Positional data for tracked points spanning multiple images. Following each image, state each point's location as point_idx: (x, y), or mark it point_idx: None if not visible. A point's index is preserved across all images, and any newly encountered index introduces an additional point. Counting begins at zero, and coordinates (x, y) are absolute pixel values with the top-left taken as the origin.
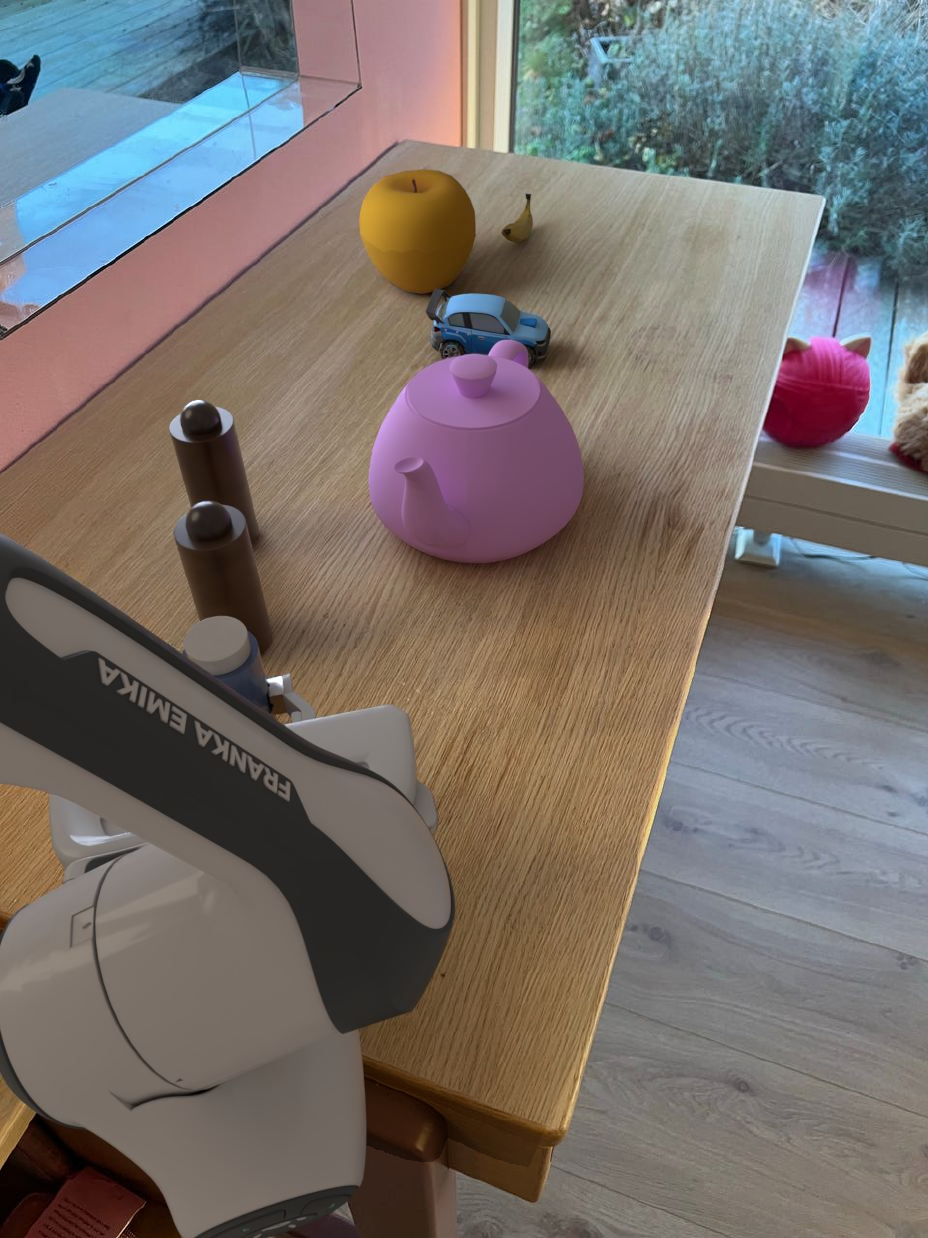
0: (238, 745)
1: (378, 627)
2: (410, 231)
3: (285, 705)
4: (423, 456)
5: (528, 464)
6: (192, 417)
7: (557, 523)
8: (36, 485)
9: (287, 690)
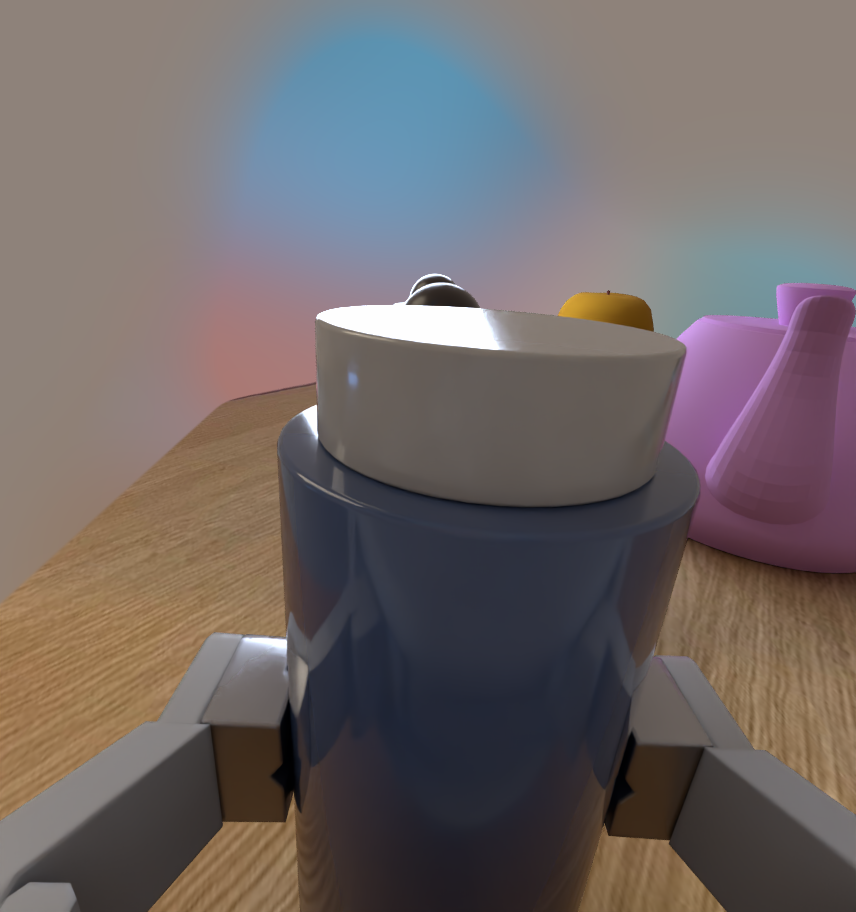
0: None
1: (666, 628)
2: (607, 317)
3: (690, 808)
4: (752, 376)
5: None
6: (428, 283)
7: None
8: (236, 414)
9: (720, 732)
